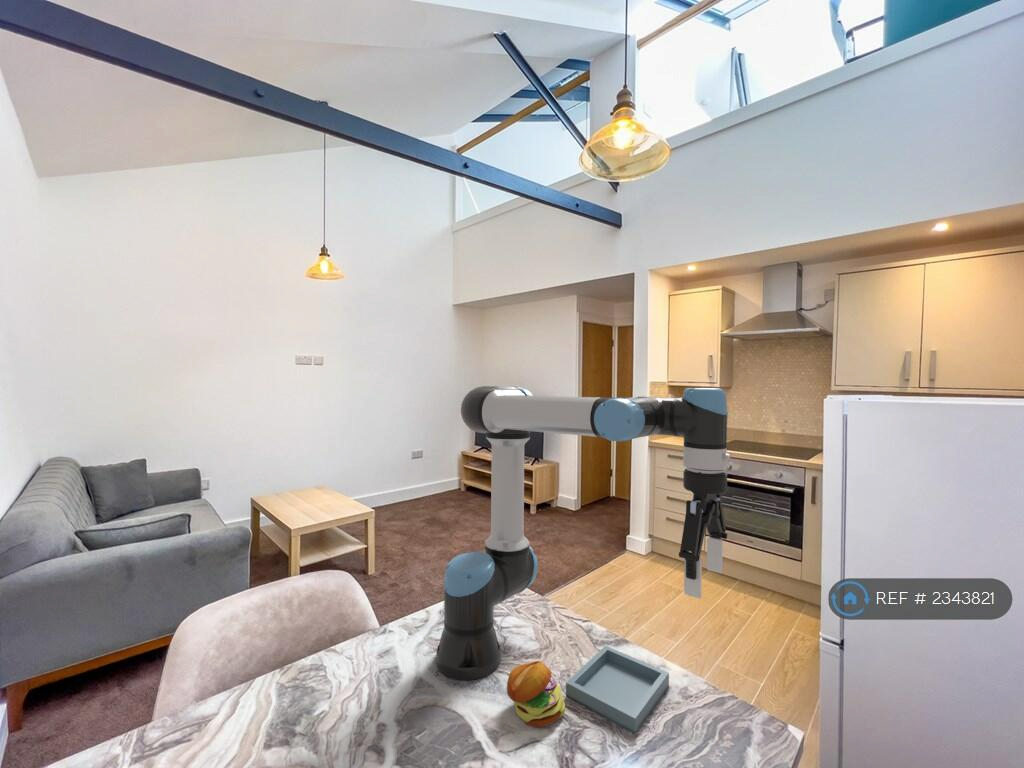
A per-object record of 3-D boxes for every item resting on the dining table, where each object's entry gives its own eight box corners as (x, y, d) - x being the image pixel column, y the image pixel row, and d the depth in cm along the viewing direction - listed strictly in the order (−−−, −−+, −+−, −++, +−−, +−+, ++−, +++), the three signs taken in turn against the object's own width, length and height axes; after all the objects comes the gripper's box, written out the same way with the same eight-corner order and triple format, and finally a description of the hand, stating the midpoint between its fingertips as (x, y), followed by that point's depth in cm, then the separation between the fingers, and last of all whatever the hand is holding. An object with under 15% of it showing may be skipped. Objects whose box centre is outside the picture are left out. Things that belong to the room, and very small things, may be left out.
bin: (566, 697, 91) (566, 682, 91) (605, 658, 104) (605, 645, 104) (635, 734, 81) (635, 718, 81) (668, 686, 94) (668, 672, 94)
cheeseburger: (564, 735, 80) (551, 682, 81) (509, 740, 83) (497, 687, 83) (568, 697, 90) (557, 649, 91) (519, 701, 92) (508, 655, 93)
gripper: (706, 483, 70) (705, 615, 70) (742, 463, 89) (742, 567, 89) (660, 476, 75) (659, 600, 75) (704, 459, 94) (703, 557, 94)
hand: (704, 582), depth 82 cm, fingers open, 13 cm apart
